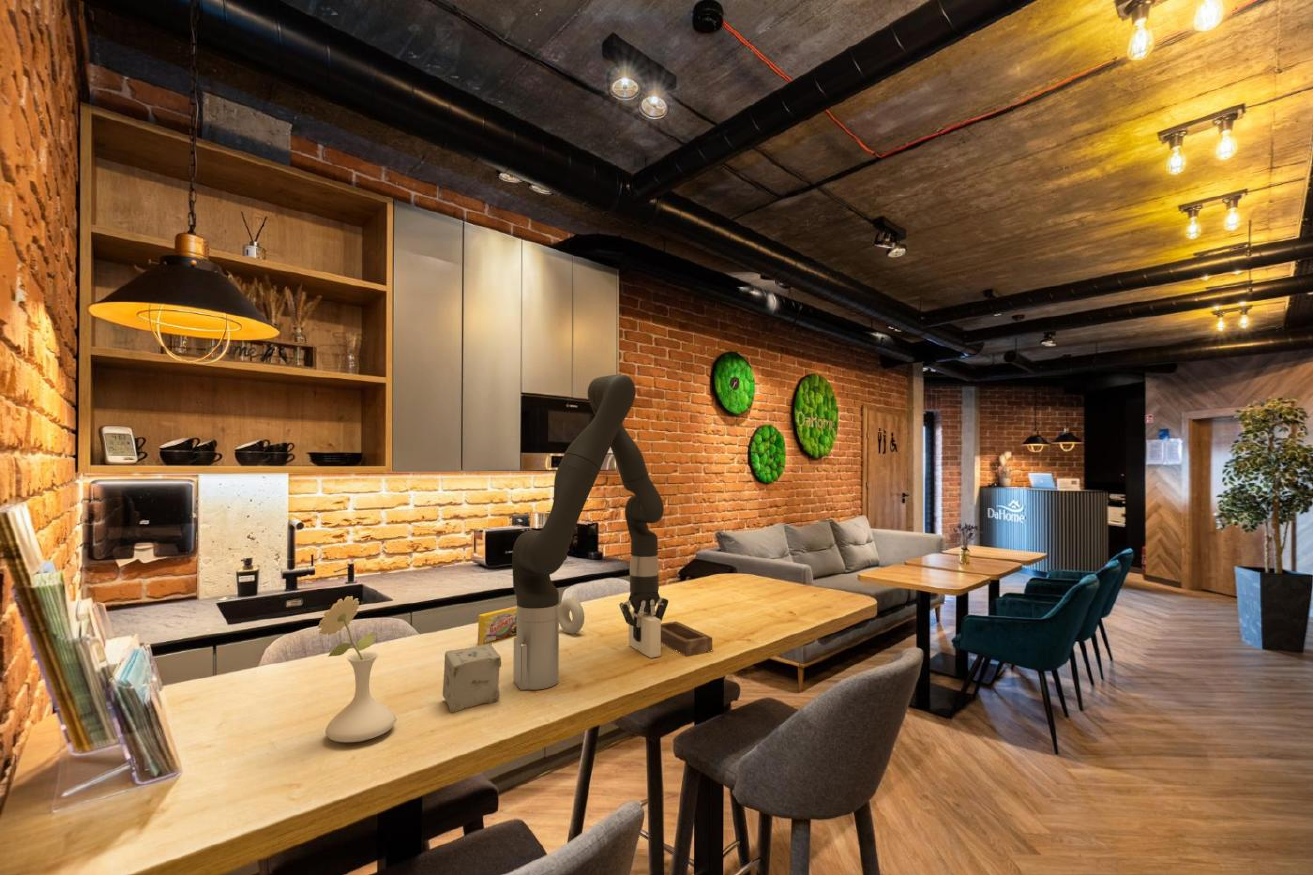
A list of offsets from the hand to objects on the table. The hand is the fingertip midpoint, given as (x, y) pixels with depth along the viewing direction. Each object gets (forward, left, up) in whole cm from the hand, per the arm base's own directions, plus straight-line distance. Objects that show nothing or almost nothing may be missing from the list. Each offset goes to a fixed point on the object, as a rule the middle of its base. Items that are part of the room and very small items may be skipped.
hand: (644, 639), depth 153 cm
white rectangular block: (0, 0, -3) cm, 3 cm away
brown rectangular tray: (+11, 0, -3) cm, 11 cm away
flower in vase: (-67, -17, -3) cm, 69 cm away
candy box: (-29, +28, -3) cm, 40 cm away
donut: (-11, +24, -3) cm, 27 cm away
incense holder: (-46, -12, -3) cm, 48 cm away
